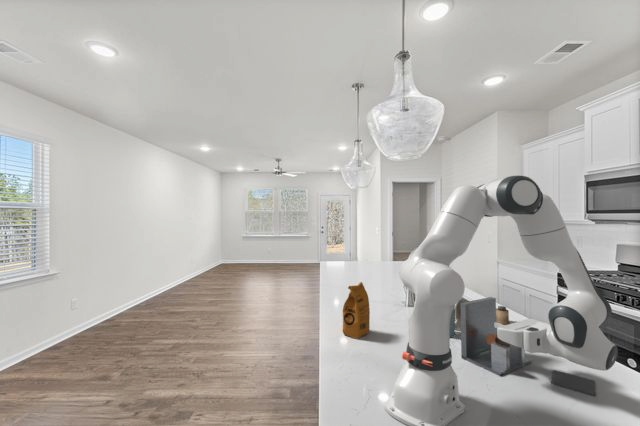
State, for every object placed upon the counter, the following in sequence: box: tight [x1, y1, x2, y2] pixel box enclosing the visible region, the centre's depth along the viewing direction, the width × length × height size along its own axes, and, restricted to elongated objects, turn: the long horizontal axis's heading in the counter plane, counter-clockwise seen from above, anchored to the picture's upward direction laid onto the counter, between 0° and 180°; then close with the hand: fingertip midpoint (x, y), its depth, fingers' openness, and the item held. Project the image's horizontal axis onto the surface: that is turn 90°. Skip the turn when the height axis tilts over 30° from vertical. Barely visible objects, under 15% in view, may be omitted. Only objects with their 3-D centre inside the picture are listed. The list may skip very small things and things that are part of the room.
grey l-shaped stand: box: [460, 296, 532, 377], centre depth 104 cm, size 18×14×20 cm
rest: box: [550, 369, 597, 397], centre depth 89 cm, size 10×10×1 cm
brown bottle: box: [496, 305, 510, 348], centre depth 102 cm, size 4×4×14 cm
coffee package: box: [342, 281, 371, 340], centre depth 130 cm, size 10×12×22 cm
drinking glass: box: [449, 306, 456, 338], centre depth 129 cm, size 10×10×12 cm
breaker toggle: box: [487, 334, 497, 345], centre depth 104 cm, size 3×3×7 cm
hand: (499, 323), depth 102 cm, fingers closed on brown bottle, 4 cm apart
